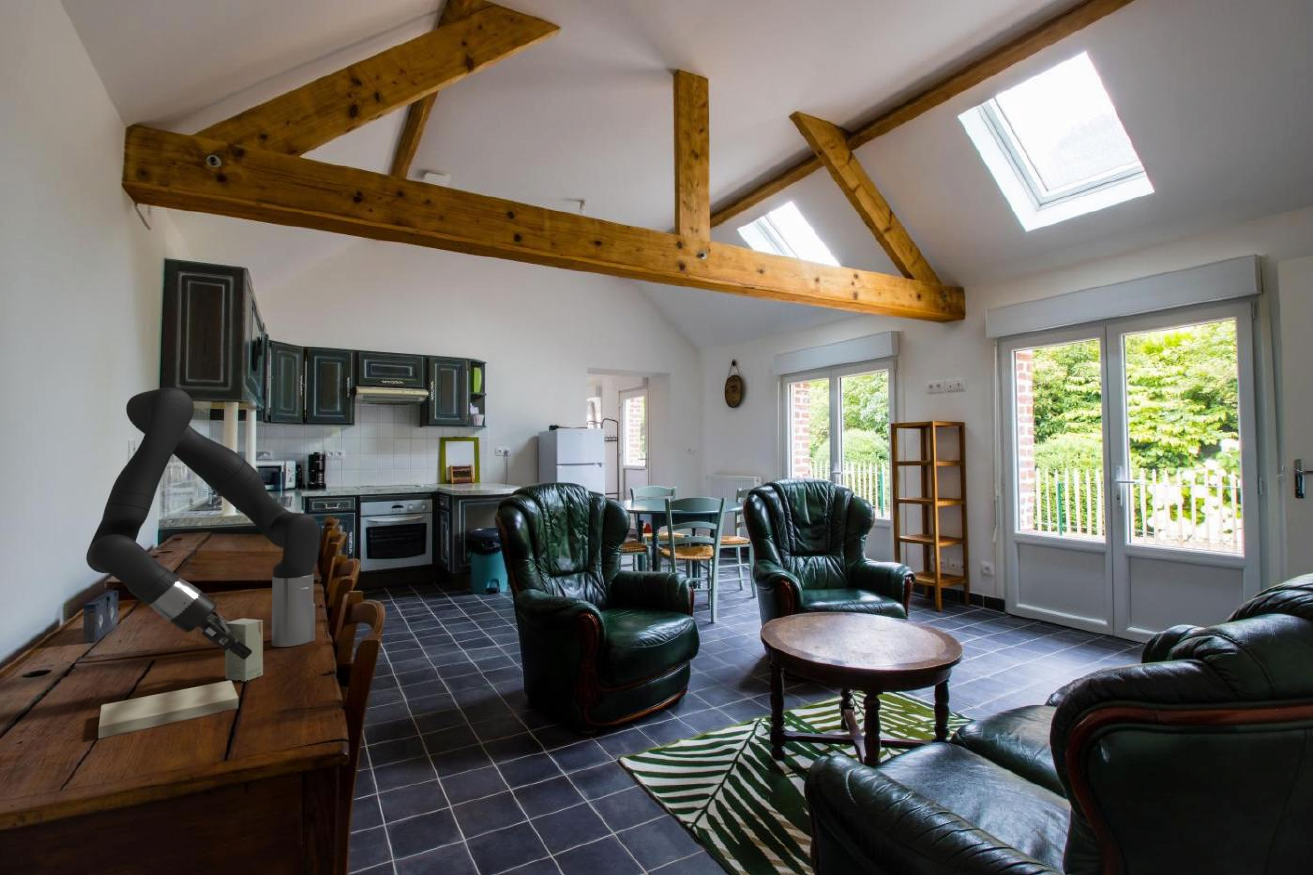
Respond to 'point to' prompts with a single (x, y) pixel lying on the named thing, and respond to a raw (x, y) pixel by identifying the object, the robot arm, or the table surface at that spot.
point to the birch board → (166, 708)
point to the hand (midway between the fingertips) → (248, 650)
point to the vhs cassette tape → (100, 616)
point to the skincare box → (253, 639)
